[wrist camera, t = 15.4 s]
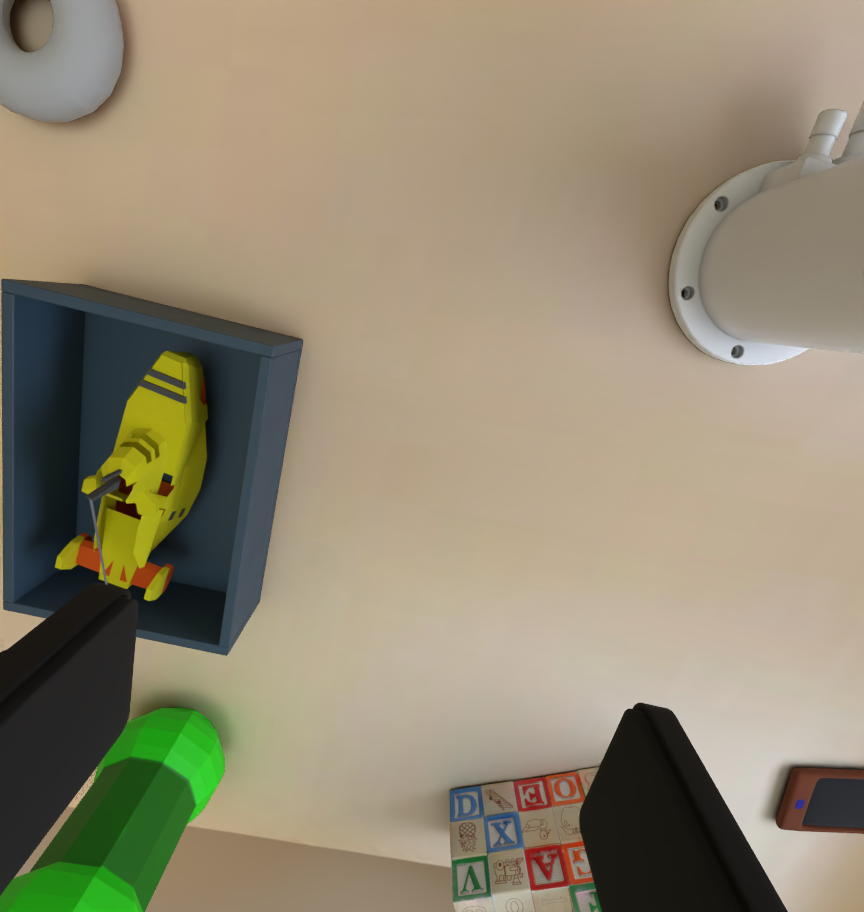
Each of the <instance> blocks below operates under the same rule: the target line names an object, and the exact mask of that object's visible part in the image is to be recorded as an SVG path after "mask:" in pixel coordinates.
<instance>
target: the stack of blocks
mask: <svg viewBox="0 0 864 912" xmlns="http://www.w3.org/2000/svg"><path fill="white" fill-rule="evenodd" d="M598 769H599V767H596V768H589V769H583V770H578V771H577V772H569V773H565V774H557V775H550V776H546V777H539V778H532V779H526V780H519V781H515V782H512V781H509V782H503V783H496V784H489V785H482V786H474V787H468V788H462V789H455V790H450V793H449V795H450V846H451V860H452V887H453V903H454V907H455V911H456V912H602V911H601V907H600V904H599V900H598V896H597V892H596V888H595V885H594V881H593V877H592V873H591V870H590V866H589V862H588V858H587V855H586V851H585V847H584V843H583V839H582V836H581V832H580V826H579V814H580V809H581V806H582V804H583V802H584V800H585V797H586V795H587V793H588V791H589V789H590V786H591V784H592V782H593V780H594V778H595V776H596V773H597V771H598Z"/></svg>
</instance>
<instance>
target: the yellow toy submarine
mask: <svg viewBox="0 0 864 912" xmlns="http://www.w3.org/2000/svg"><path fill="white" fill-rule="evenodd" d="M184 405H185V409H184ZM207 419H208V411H207V402H206V395H205V382H204V378H203V369H202V365H201V363H200V361H199V359H198V357H197V356H196V355H193V354H191V353H188V352H178V351H165V352H163V353H161V354H160V356H159V357H158V358H157V360H156V361H155V363H154V364H153V365H152V367H151V368H150V369H149V371H147V374H146V375H145V376H144V378H143V379H141V382H139V384H138V386H137V387H136V389H135V390H134V391H133V393H132V394H131V395H130V397H129V398H128V400H127V404H126V408H125V412H124V415H123V419H122V422H121V426H120V430H119V433H118V437H117V440H116V444H115V447H114V451H113V454H112V455H111V456H110V457H109V458H108V459H107V460H106V462H105V463H104V464H103V465H102V466H101V468H100V469H99V470H98V471H97V474H96V475H93V476H88V477H87V478H86V479H84V482H83V487H82V492H84V493H86V494H88V495H86V498H88V499H89V500H90V506H91V511H92V516H93V522H94V527H95V537H94V542H92V537H91V536H90V535H89V534H86V533H82V534H80V535H79V536H77V537H76V538H75V539H73V540H72V541H70V542H69V544H68V545H67V546H66V547H65V548H64V549H63V550H62V552H61V553H60V554H59V555H58V556H57V560H56V564H55V568H58V569H61V570H62V569H72V568H74V567H75V566H76V565H78V564H79V565H81V566H84V567H86V568H89V569H91V570H94V571H97V572H99V579H100V580H102V581H105V584H107V585H108V583H111V584H114V585H116V586H119V587H122V588H125V589H128V588H129V587H130V586H131V585H132V584H133V585H136V586H139V587H142V588H145V589H146V593H145V596H144V599H145V600H148V601H152V600H156V599H157V598H158V597H159V596H160V595H161V594H162V593H163V592H164V591H165V590H166V588H167V586H168V584H169V582H170V580H171V577H172V574H173V571H174V567H173V565H170V564H168V563H167V564H166V565H165V566H164V567H163V568H162V567H160V566H157V565H155V564H152V563H150V562H147V558H148V556H149V554H150V553H151V551H152V550H153V549H154V548H155V547H156V546H157V545H158V544H159V543H160V542H161V541H162V540H163V539H164V538H165V537H166V536H167V535H168V534H169V533H170V532H171V531H172V530H173V529H174V528H175V527H176V526H177V525H178V524H179V523H180V522H181V521H182V520H183V519H184V518H185V517H186V516H187V514H188V512H189V510H190V508H191V506H192V504H193V503H194V501H195V499H196V497H197V495H198V493H199V491H200V489H201V484H202V479H203V474H204V470H205V465H206V460H207V452H206V431H205V422H206V421H207ZM163 473H166V474H169V475H171V476H173V478H172V482H171V484H169V483H166V482H164V481H161V480H162V477H163ZM100 497H102V499H101V503H100V508H99V513H98V519H97V523H96V517H95V512H94V506H93V501H94V500H96V499H98V498H100ZM92 500H93V501H92ZM107 582H108V583H107Z"/></svg>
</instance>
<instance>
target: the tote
mask: <svg viewBox="0 0 864 912" xmlns="http://www.w3.org/2000/svg"><path fill="white" fill-rule="evenodd" d="M1 286H2V291H3V292H2V463H3V600H4V602H3V609H4V610H8V611H13V612H18V613H23V614H28V615H32V616H37V617H42V618H48V617H49V616H51V615H52V614H53V613H54V612H56V611H57V610H58V609H59V608H61V607H62V606H63V605H65V604H66V603H67V602H68V601H70V600H71V599H72V598H73V597H75V596H76V595H77V594H78V593H80V592H81V591H82V590H83V589H85V588H86V587H87V586H89V585H90V584H92V583H97V582H98V583H102V584H105V581H102V580H100V579H99V572H97V571H94V570H91V569H89V568H86V567H84V566H81V565H79V564H78V565H76V566H75V567H74V568H72V569H62V570H61V569H58V568H55V564H56V560H57V556H58V555H59V554H60V553H61V552H62V550H63V549H64V548H65V547H66V546H67V545H68V544H69V542H70V541H72V540H73V539H75V538H76V537H77V536H79V535H80V534H82V533H86V534H89V535H90V536H91V537H92V542H94V537H95V527H94V522H93V516H92V511H91V506H90V500H89V499H88V498H86V495H88V494H86V493H84V492H82V487H83V482H84V479H86V478H87V477H88V476H93V475H96V474H97V471H98V470H99V469H100V468H101V466H102V465H103V464H104V463H105V462H106V460H107V459H108V458H109V457H110V456H111V455H112V454H113V451H114V447H115V444H116V440H117V437H118V433H119V430H120V426H121V422H122V419H123V415H124V412H125V408H126V404H127V400H128V398H129V397H130V395H131V394H132V393H133V391H134V390H135V389H136V387H137V386H138V384H139V382H141V379H143V378H144V376H145V375H146V374H147V371H149V369H150V368H151V367H152V365H153V364H154V363H155V361H156V360H157V358H158V357H159V356H160V354H161V353H163V352H165V351H178V352H188V353H191V354H193V355H196V356H197V357H198V359H199V361H200V363H201V365H202V369H203V378H204V382H205V395H206V402H207V411H208V419H207V421H206V422H205V431H206V452H207V460H206V465H205V470H204V474H203V479H202V484H201V489H200V491H199V493H198V495H197V497H196V499H195V501H194V503H193V504H192V506H191V508H190V510H189V512H188V514H187V516H186V517H185V518H184V519H183V520H182V521H181V522H180V523H179V524H178V525H177V526H176V527H175V528H174V529H173V530H172V531H171V532H170V533H169V534H168V535H167V536H166V537H165V538H164V539H163V540H162V541H161V542H160V543H159V544H158V545H157V546H156V547H155V548H154V549H153V550H152V551H151V553H150V554H149V556H148V558H147V562H150V563H152V564H155V565H157V566H160V567H162V568H163V567H164V566H165V565H166V564H167V563H168V564H170V565H173V567H174V571H173V574H172V577H171V580H170V582H169V584H168V586H167V588H166V590H165V591H164V592H163V593H162V594H161V595H160V596H159V597H158V598H157V599H156V600H152V601H148V600H145V599H144V596H145V593H146V589H145V588H142V587H139V586H136V585H133V584H132V585H131V586H130V587H129V588H128V590H129V591H130V593H131V599H135V600H137V602H138V617H137V629H136V637H139V638H144V639H149V640H153V641H158V642H163V643H168V644H173V645H178V646H182V647H187V648H192V649H197V650H202V651H207V652H211V653H216V654H221V655H226V656H227V655H228V653H229V652H230V650H231V648H232V647H233V645H234V643H235V642H236V640H237V638H238V637H239V635H240V633H241V632H242V630H243V628H244V627H245V625H246V623H247V622H248V620H249V618H250V617H251V615H252V613H253V612H254V610H255V608H256V607H257V605H258V603H259V601H260V595H261V589H262V583H263V577H264V571H265V565H266V559H267V553H268V547H269V541H270V535H271V529H272V523H273V517H274V511H275V505H276V499H277V493H278V487H279V481H280V475H281V469H282V463H283V457H284V451H285V445H286V439H287V433H288V427H289V421H290V415H291V409H292V403H293V398H294V392H295V386H296V380H297V374H298V368H299V362H300V356H301V350H302V344H303V340H302V339H299V338H295V337H291V336H287V335H283V334H279V333H275V332H271V331H267V330H263V329H259V328H255V327H251V326H247V325H243V324H239V323H235V322H231V321H227V320H223V319H219V318H215V317H211V316H207V315H203V314H199V313H195V312H191V311H187V310H183V309H179V308H175V307H171V306H167V305H163V304H159V303H155V302H151V301H147V300H143V299H139V298H135V297H131V296H127V295H123V294H119V293H115V292H111V291H107V290H103V289H99V288H95V287H91V286H87V285H83V284H70V283H56V282H42V281H28V280H14V279H2V280H1ZM184 409H185V405H184ZM172 478H173V476H171V475H169V474H166V473H163V477H162V480H161V481H164V482H166V483H169V484H171V482H172ZM101 499H102V497H100V498H98V499H96V500H94V501H93V500H92V501H93V506H94V512H95V517H96V523H97V519H98V513H99V508H100V503H101ZM107 583H108V582H107ZM108 585H111V586H116V585H114V584H111V583H108ZM116 587H119V586H116ZM120 588H122V587H120Z"/></svg>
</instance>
